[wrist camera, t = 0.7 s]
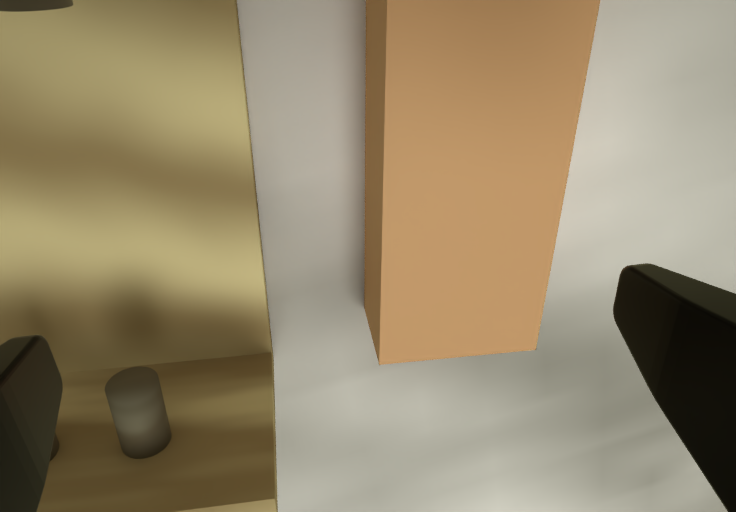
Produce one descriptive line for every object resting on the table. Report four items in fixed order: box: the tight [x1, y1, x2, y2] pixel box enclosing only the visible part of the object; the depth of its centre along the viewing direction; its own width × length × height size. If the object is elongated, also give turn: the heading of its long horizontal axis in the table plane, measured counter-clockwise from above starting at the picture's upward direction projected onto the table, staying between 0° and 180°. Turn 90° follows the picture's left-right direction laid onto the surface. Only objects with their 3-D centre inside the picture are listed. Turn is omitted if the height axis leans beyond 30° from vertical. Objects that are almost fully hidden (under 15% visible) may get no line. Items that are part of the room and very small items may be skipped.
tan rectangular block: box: [364, 0, 600, 365], centre depth 20 cm, size 14×6×4 cm, turn 0°
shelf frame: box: [0, 0, 278, 512], centre depth 17 cm, size 18×12×8 cm, turn 0°
